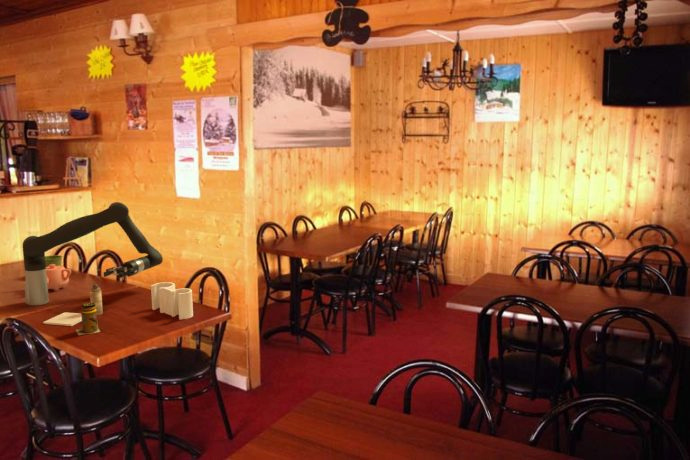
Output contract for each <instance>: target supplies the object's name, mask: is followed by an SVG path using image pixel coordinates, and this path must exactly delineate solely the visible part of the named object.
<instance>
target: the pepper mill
mask: <svg viewBox="0 0 690 460" xmlns="http://www.w3.org/2000/svg"><path fill="white" fill-rule="evenodd" d="M102 294H103V293H102V289H101V287H100V286H99V285H98V284H97V283H94V284H93V285H92V287H91V288H90V291H89V297H90V298H89V299H90V303H95V307H96V308H95V309H96V310H97V316H98V315H99V316H100V315H102V314H103V313H104V312H103V311H104V310H103V296H102Z"/></svg>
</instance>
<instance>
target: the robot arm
mask: <svg viewBox="0 0 690 460" xmlns="http://www.w3.org/2000/svg"><path fill="white" fill-rule="evenodd" d="M129 212H130V210H129V208H128V206H127V205H126V204H124V203H122V202H120V201H116V202H115V201H114V202H112V203H110V204H109V206H108V207H107V208H106V209H103V210H102V211H100V212H95V213H93V214H89V215H84V216H79V217H77V218H75V219H72V220H70V221H68V222H66V223H64V224H62V225H60V226H59V227H57V228H56V229H54V230H52V231H51V232H49V233H46V234H42V235H40V236H37V235H30V236H27V237H25V239H24V240H23V241H22V253H23V254H22V255H23V256H22V257H23V267H24V275H25V278H24V279H25V284H24V287H23V288H24V296H25V297H24V298H25V304H26V305H28V306H42V305H46V304H48V303H50V300H49V289H48V284H47V273H46V261H45V256H46V252H48V251H50V250H52V249H53V248H55V247H58V246H61V245H65V244H66V243H70V242H72V241H74V240H77V239H79V238H83V237H85V236H87V235H89V234H91V233H93V232H95V231H98V230H99V229H101V228H104V227H106V226H108V225H110V224H115V223H117V224H118V225H119V226H120V227H121V229H122V230H123V232H124V233H125V234H126V236H127V237H128V238H129V240H130V242H131V243H132V245H133V246H134V248H135V250H137V252H138V253H139V254H141V255H142V254H146V255H145V256H141V257H138V258H133V259H132V260H128V261H125V262H123V263H122V264H121V266H118V267H115V266H113V267H110V268H109V267H108V268H106V269H105V271H104V272H103V277H108V276H112V275H113V276H118V278H119V279H122V278H124V277H129V278H130V277H132V276H135V275H137V274H139V273H142V272H144V271H146V270H149V269H152V268H154V267H156V266H159V265H161V264H162V263H163V262H164V261H163V260H164V259H163V258H164V257H163V255H162V253H160V251H159V250H158V249H156V248H155V247H154V246H153V245H151V244H150V242H149V241H148V239H147V238H146V236H145V235H144V234H143V233H142V232H141V231H140V229H139V228H138V227H137V226H136V224H135V223H134V222H133V220H132V219H131V217H130V215H129Z"/></svg>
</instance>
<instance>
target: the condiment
mask: <svg viewBox="0 0 690 460" xmlns="http://www.w3.org/2000/svg"><path fill="white" fill-rule="evenodd" d="M95 308H96V307H95V303H91V302H85V303H82V304H81V312H80V314H81V316H82V321H81V327H82V328H79V329H75V331H76V334H77V335H78V336H83V335H88V334H90V335H91V334H95V333H100V332H101V330H100V328H99V326H98V315H97V310H96V309H95Z"/></svg>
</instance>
